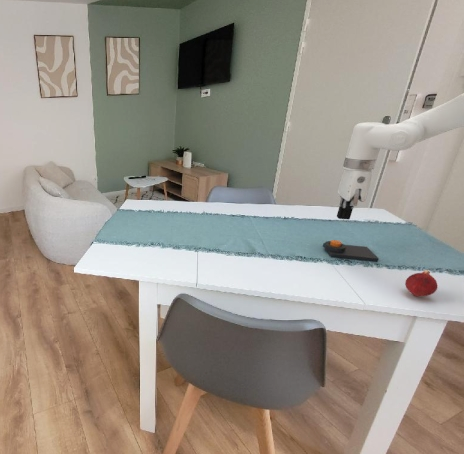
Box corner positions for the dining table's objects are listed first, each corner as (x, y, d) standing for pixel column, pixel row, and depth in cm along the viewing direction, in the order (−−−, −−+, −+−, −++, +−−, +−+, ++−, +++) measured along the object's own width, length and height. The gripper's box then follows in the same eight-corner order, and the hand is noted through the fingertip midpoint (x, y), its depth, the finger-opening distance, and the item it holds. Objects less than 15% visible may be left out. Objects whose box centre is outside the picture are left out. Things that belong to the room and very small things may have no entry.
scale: (365, 250, 104) (368, 242, 102) (377, 262, 96) (380, 254, 95) (319, 245, 108) (321, 238, 107) (327, 257, 101) (329, 249, 99)
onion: (431, 305, 76) (444, 279, 73) (401, 297, 79) (412, 272, 76) (430, 295, 80) (442, 270, 76) (401, 287, 83) (411, 263, 80)
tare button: (338, 244, 103) (339, 240, 103) (341, 248, 101) (342, 244, 100) (328, 243, 104) (329, 239, 104) (331, 247, 102) (332, 243, 101)
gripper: (385, 169, 84) (366, 227, 91) (363, 159, 96) (347, 211, 104) (353, 168, 86) (337, 225, 93) (336, 159, 99) (323, 210, 106)
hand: (342, 218), depth 98 cm, fingers closed
